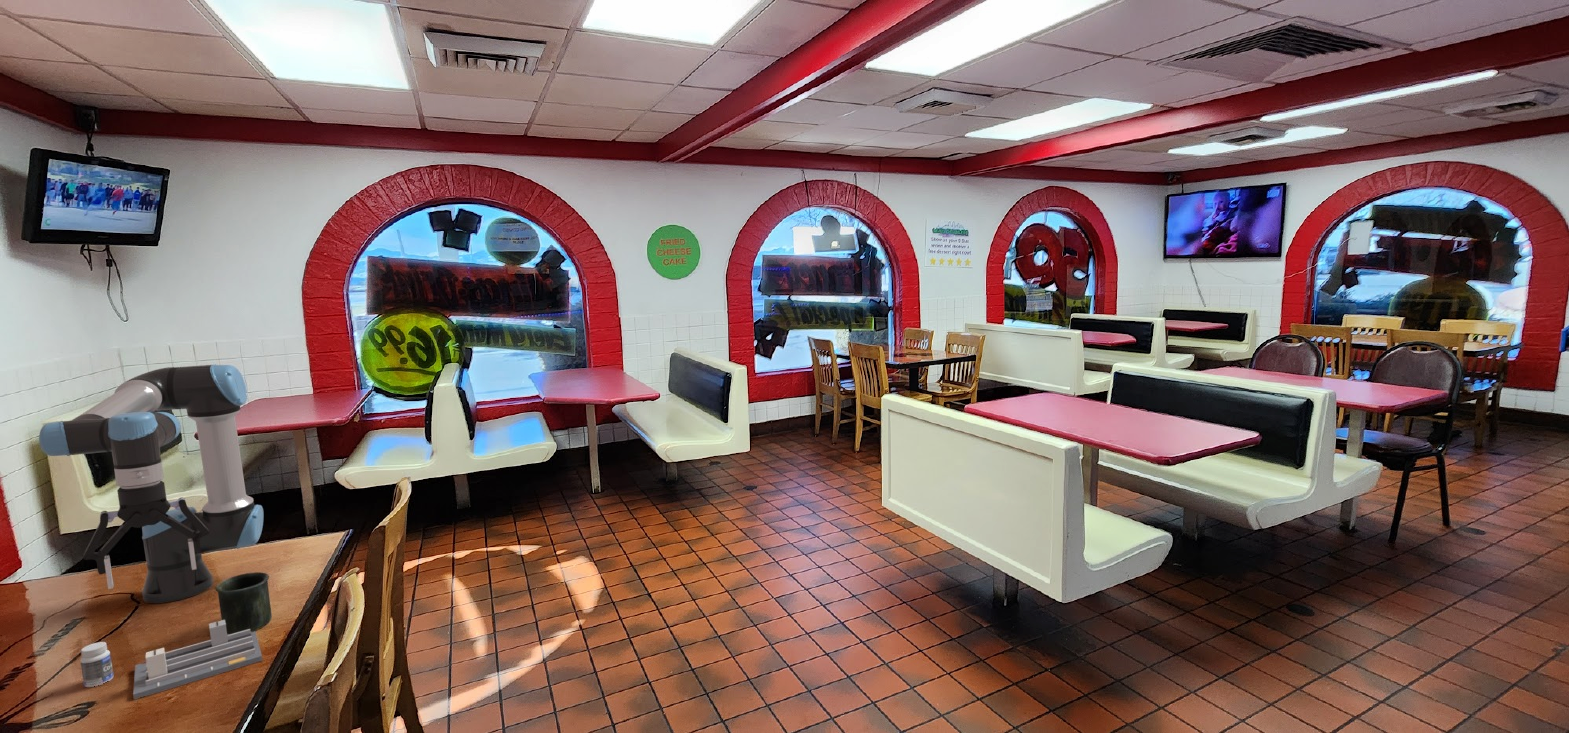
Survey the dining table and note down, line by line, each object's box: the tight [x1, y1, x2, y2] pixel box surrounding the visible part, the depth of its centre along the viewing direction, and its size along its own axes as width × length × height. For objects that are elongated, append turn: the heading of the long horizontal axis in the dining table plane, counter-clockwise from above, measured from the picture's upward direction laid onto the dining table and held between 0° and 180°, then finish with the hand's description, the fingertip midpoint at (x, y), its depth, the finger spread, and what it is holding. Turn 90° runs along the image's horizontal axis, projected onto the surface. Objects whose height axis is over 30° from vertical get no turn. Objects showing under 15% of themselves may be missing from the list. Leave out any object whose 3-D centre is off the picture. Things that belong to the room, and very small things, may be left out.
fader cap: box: [145, 647, 167, 679], centre depth 152 cm, size 3×3×6 cm
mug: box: [214, 571, 273, 635], centre depth 178 cm, size 11×15×12 cm
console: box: [132, 620, 263, 700], centre depth 159 cm, size 15×22×7 cm
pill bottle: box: [79, 641, 114, 688], centre depth 153 cm, size 5×5×8 cm
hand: (153, 577), depth 152 cm, fingers open, 13 cm apart
